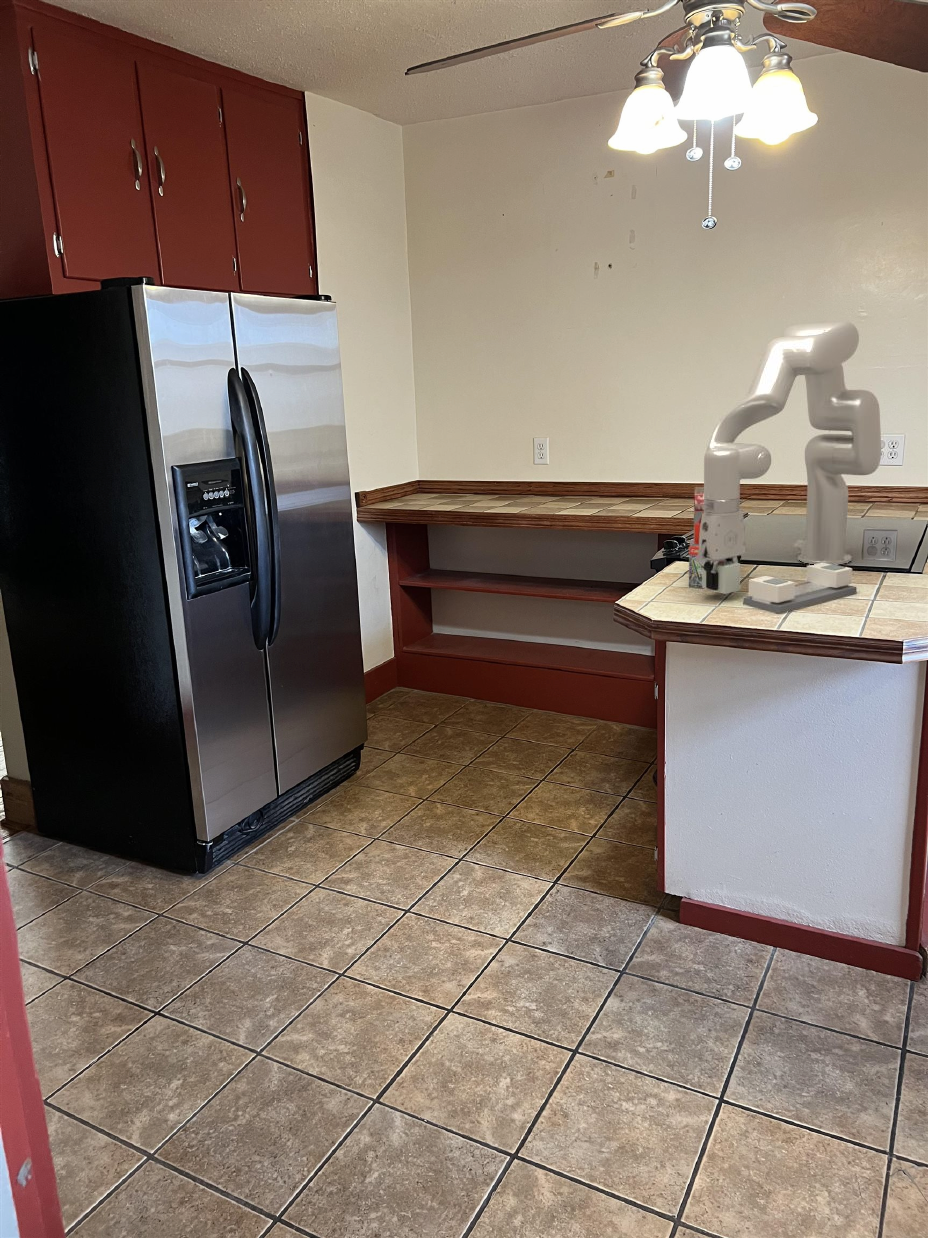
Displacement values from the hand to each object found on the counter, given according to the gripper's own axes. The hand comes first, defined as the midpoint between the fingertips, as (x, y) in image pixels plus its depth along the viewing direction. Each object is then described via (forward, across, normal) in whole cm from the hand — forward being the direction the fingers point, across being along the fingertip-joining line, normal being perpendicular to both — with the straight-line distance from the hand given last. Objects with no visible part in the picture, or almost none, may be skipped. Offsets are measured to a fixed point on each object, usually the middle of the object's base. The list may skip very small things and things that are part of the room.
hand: (720, 586), depth 205 cm
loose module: (+1, 0, 0) cm, 1 cm away
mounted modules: (+1, +12, -12) cm, 17 cm away
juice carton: (+3, +12, +16) cm, 20 cm away
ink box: (+3, +5, +9) cm, 10 cm away
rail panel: (+3, +12, -12) cm, 17 cm away
